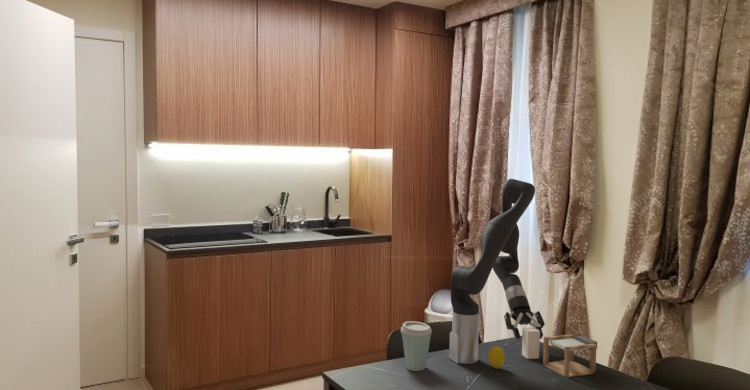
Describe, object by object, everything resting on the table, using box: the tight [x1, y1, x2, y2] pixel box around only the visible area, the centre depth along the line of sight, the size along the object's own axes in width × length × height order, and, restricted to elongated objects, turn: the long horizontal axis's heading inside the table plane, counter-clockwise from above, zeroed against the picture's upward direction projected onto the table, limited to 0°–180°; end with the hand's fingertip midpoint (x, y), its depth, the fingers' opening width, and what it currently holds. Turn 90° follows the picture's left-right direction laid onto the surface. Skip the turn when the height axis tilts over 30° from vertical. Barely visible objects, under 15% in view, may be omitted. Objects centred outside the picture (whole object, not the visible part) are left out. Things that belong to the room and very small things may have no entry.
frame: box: [542, 333, 597, 378], centre depth 183 cm, size 12×12×10 cm
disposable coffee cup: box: [400, 320, 433, 372], centre depth 181 cm, size 11×11×15 cm
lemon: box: [487, 345, 506, 370], centre depth 182 cm, size 6×6×8 cm
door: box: [549, 335, 598, 352], centre depth 184 cm, size 13×9×2 cm
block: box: [521, 327, 541, 360], centre depth 195 cm, size 4×4×10 cm
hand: (530, 338), depth 196 cm, fingers open, 8 cm apart
